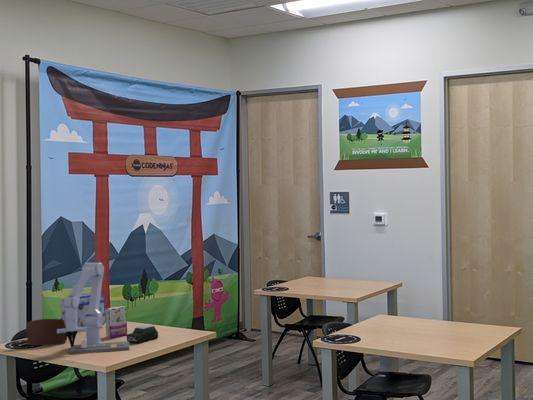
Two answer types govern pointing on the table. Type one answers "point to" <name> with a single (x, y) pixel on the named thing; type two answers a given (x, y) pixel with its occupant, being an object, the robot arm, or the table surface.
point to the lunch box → (84, 309)
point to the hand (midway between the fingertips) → (72, 346)
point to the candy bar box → (116, 321)
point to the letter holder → (46, 332)
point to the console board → (100, 347)
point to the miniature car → (142, 333)
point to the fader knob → (83, 343)
